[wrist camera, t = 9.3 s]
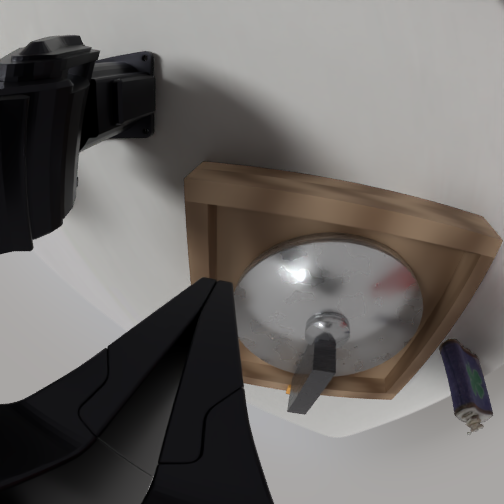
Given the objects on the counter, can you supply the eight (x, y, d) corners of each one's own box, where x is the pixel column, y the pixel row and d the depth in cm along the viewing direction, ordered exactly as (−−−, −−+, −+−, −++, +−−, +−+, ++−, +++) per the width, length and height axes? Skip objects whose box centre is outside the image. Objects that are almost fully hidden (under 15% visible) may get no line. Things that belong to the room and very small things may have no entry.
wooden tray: (210, 349, 32) (201, 376, 29) (203, 161, 19) (181, 181, 16) (389, 375, 30) (391, 402, 27) (483, 216, 17) (505, 243, 14)
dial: (244, 210, 19) (222, 256, 15) (451, 259, 18) (476, 308, 14) (227, 354, 29) (214, 396, 25) (369, 378, 28) (370, 420, 24)
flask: (480, 358, 26) (497, 429, 17) (463, 369, 27) (477, 439, 19) (452, 334, 24) (473, 421, 16) (432, 348, 26) (447, 434, 17)
